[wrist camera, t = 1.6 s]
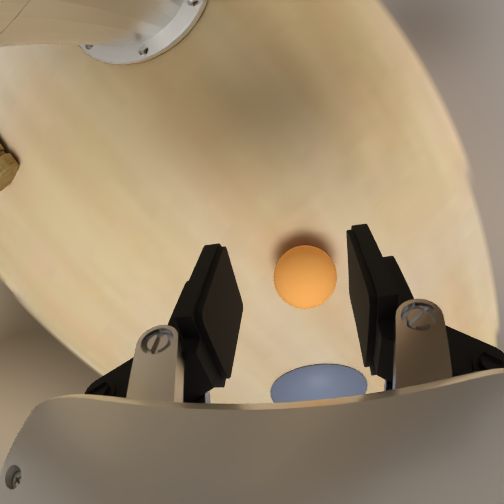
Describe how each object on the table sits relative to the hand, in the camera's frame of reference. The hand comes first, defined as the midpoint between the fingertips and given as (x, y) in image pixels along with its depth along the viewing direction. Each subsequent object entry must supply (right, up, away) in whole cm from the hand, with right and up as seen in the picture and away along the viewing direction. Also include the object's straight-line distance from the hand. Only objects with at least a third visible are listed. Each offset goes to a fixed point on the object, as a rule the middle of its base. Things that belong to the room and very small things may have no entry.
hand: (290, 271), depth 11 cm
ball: (+3, -1, +15) cm, 16 cm away
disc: (+8, -19, +29) cm, 36 cm away
